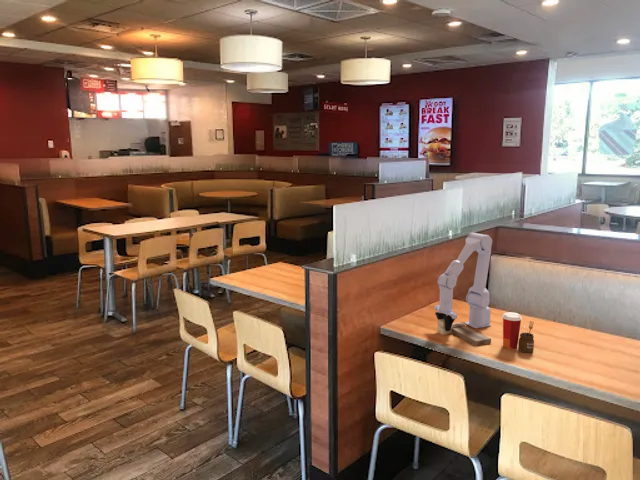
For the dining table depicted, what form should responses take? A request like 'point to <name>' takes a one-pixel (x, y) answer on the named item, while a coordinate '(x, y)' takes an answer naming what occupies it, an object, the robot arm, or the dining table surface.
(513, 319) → the paper cup
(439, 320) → the wooden mallet
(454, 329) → the plank
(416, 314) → the dining table surface
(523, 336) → the utensil holder
